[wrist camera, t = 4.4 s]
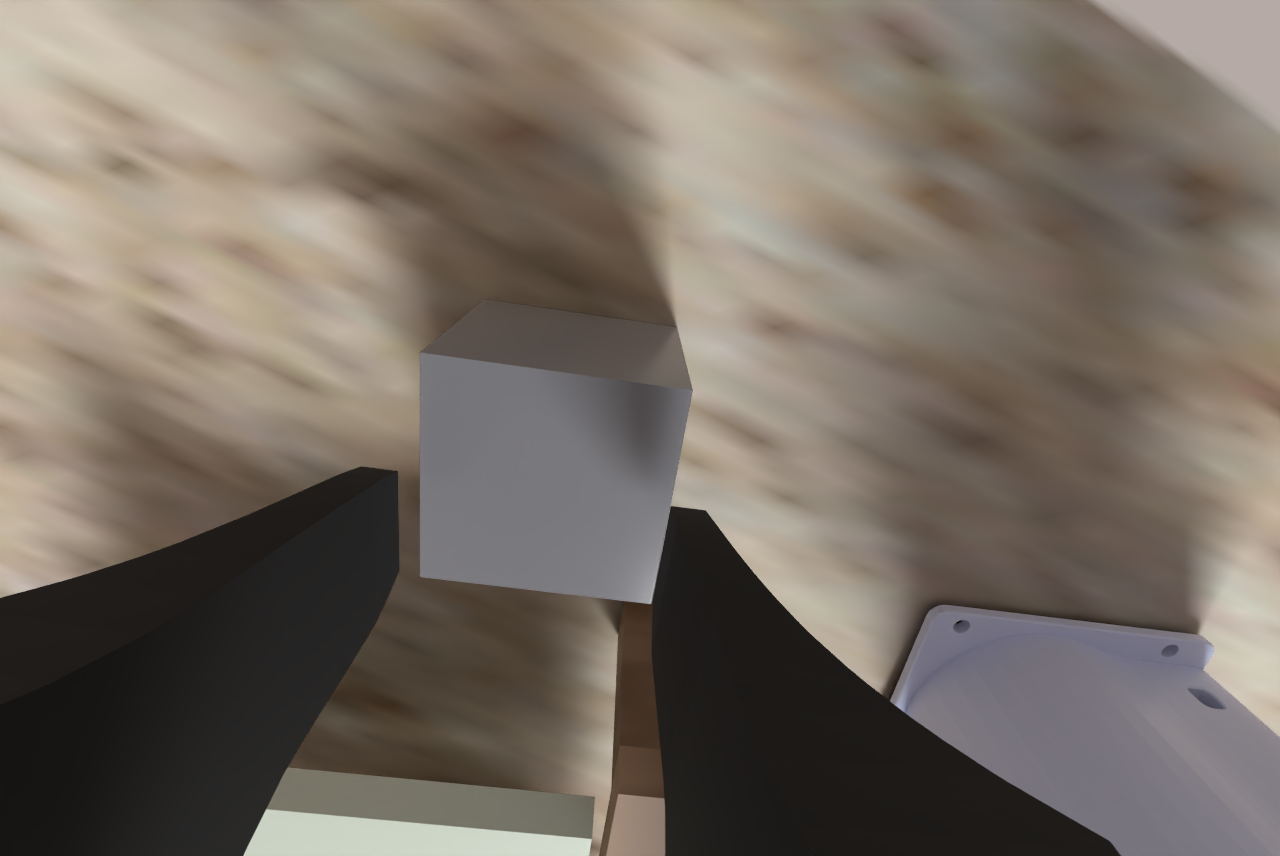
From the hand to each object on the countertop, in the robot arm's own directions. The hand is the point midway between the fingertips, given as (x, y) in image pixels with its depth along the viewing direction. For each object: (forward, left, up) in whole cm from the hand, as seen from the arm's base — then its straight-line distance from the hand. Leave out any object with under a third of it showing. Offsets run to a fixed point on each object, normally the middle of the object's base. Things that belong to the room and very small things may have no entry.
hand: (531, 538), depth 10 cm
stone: (0, 0, -7) cm, 7 cm away
